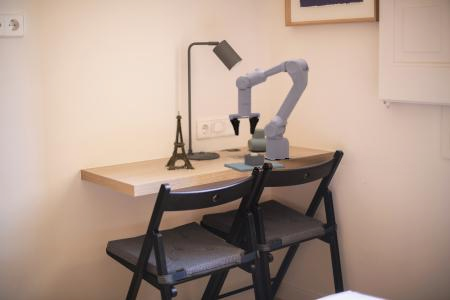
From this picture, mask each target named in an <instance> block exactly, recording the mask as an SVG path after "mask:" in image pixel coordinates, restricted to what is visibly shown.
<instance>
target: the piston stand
mask: <svg viewBox="0 0 450 300" xmlns="http://www.w3.org/2000/svg"><path fill="white" fill-rule="evenodd" d="M250 154H251V156H258V154H259V153H258V152H251V153H250ZM265 162H270V163H272V165H273V169H281V168H285V167H286V164H282V163H278V162H275V161H273V160H268V159H264V163H265ZM262 166H263V165H260V166H249V165H245V161H243V162H241V161H240V162H233V163H232V162H231V163H224V167H226V168H229V169H231V168H232V169H231V170H236V171H237V172H241V173H243V172H254V171H253V169H254V167H260V168H262Z"/></svg>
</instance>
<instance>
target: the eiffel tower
mask: <svg viewBox="0 0 450 300" xmlns="http://www.w3.org/2000/svg"><path fill="white" fill-rule="evenodd" d="M175 118H176V130H175V131H176V132H175V139H174V140H175V141H173V146H174V147H173V151H172V152H171V153H172V155H171V157H170V158H169V159H168V161H167V163H166V164H165V165H164V166H165V167H167V168H166V169H167V171H175V170H176V168H175V165H176V162H178V161H180V160H182V161H184V163H183V165H184V167H186V169H187V170H189V169H191V170H195V167H193V165H192V163H191V161H190V160H189V158H188V156H187V155H188V154H187V153H186V150H185V145H186V144H185V142H184V138H183V131H182V130H183V129H182V119H183V118H182V115H180V112H178V113H177V115H176V117H175ZM179 148H180V149H181V150H180V151H181V152H178V149H179ZM189 171H190V170H189Z"/></svg>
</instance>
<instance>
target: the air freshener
mask: <svg viewBox="0 0 450 300" xmlns="http://www.w3.org/2000/svg"><path fill="white" fill-rule="evenodd" d="M247 147H248V149H249V150H250V151H252V152H254V153H258V152H259V151H261V152H266V136H265V134H264V128H255V132H254V135H252V134H251V138H249V139H248V141H247Z"/></svg>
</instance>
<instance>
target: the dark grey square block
mask: <svg viewBox="0 0 450 300" xmlns="http://www.w3.org/2000/svg"><path fill="white" fill-rule="evenodd" d="M264 156H265V155H264V154H260V153H258V156H251V153H247V154H244V162H245V165H249V166H260V165H263V164H264V160H265V158H264Z"/></svg>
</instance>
